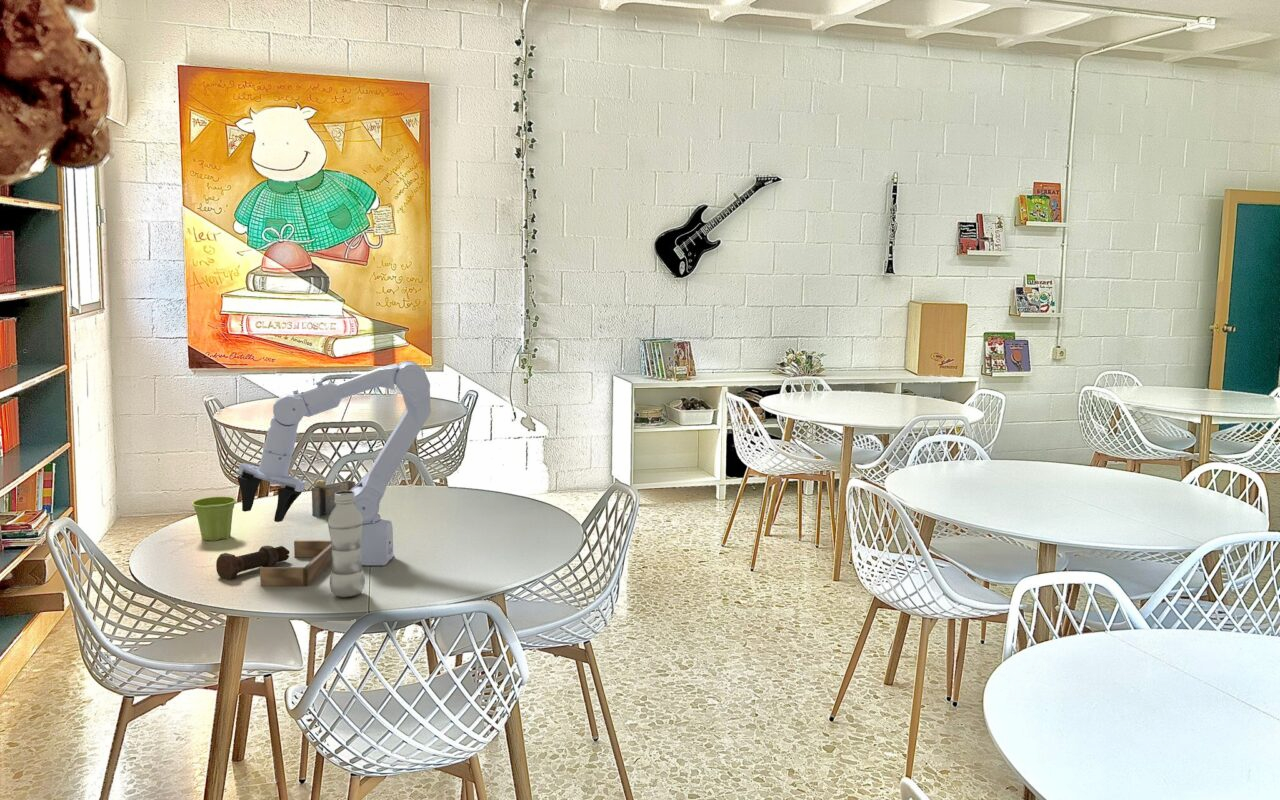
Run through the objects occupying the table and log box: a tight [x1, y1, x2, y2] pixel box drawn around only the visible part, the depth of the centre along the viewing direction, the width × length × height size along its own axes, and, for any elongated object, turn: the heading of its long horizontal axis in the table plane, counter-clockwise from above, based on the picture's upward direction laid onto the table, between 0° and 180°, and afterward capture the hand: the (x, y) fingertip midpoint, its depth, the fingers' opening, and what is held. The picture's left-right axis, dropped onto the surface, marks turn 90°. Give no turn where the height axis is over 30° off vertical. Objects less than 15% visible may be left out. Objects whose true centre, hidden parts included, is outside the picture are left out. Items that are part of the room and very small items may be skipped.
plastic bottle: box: [327, 491, 366, 598], centre depth 190 cm, size 6×7×20 cm
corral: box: [259, 539, 332, 587], centre depth 207 cm, size 9×21×4 cm, turn 0°
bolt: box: [215, 545, 290, 581], centre depth 207 cm, size 6×5×15 cm
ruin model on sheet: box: [311, 479, 356, 518], centre depth 256 cm, size 11×3×10 cm, turn 143°
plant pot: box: [191, 496, 237, 542], centre depth 231 cm, size 9×9×9 cm
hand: (262, 516), depth 206 cm, fingers open, 7 cm apart
